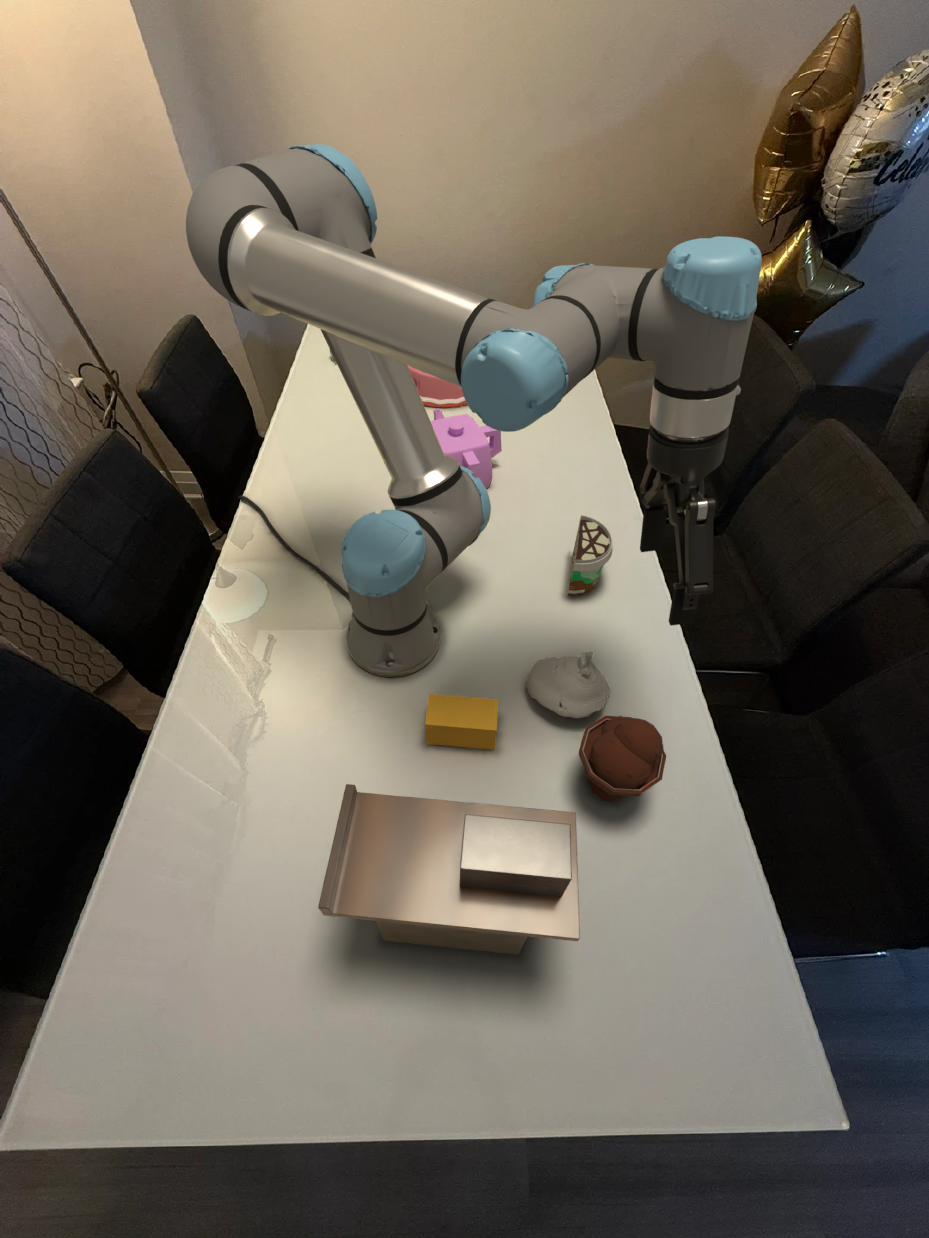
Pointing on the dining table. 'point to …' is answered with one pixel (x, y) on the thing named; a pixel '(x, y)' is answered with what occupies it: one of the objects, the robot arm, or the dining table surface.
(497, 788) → the dining table surface
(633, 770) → the ice cream bowl
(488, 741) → the mustard back pad
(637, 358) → the robot arm
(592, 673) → the grey clay mound
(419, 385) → the cake
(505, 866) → the serving tray
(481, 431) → the teakettle
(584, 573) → the food container
